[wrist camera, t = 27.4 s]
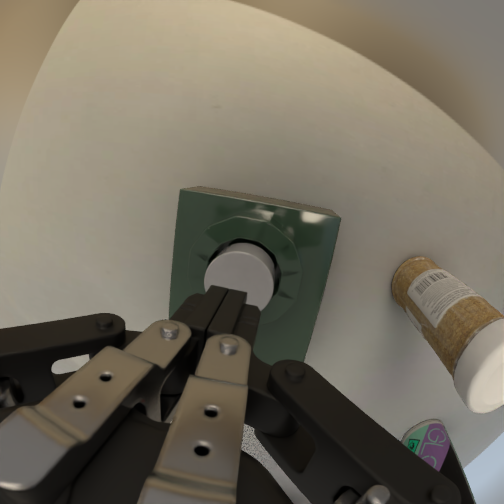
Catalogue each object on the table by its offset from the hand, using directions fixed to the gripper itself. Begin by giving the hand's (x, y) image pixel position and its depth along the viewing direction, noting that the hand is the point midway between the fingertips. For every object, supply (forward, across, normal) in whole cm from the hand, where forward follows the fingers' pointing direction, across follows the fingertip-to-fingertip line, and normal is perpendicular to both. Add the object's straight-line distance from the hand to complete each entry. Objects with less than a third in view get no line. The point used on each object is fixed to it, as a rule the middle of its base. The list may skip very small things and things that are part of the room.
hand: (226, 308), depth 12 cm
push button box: (+11, 0, +2) cm, 11 cm away
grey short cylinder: (+5, 0, 0) cm, 5 cm away
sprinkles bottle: (+11, -13, 0) cm, 17 cm away
